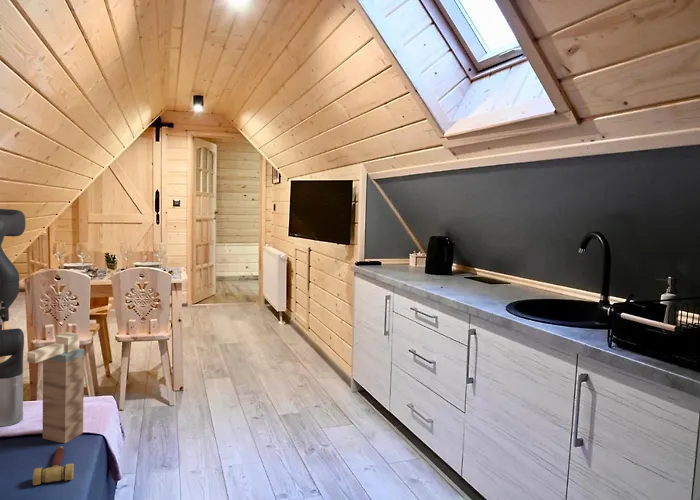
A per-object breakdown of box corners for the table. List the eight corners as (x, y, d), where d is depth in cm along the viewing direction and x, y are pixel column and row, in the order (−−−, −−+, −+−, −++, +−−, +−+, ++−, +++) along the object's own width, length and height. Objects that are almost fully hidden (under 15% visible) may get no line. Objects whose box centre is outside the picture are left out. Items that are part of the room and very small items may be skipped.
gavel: (43, 442, 164) (78, 438, 168) (43, 456, 164) (78, 452, 168) (32, 472, 145) (72, 467, 149) (32, 488, 145) (72, 483, 149)
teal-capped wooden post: (64, 443, 169) (66, 356, 166) (42, 438, 172) (43, 352, 168) (82, 432, 177) (84, 349, 174) (61, 428, 179) (62, 345, 176)
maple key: (37, 363, 158) (37, 348, 157) (24, 361, 159) (24, 345, 158) (79, 348, 174) (79, 334, 174) (67, 346, 175) (67, 332, 175)
